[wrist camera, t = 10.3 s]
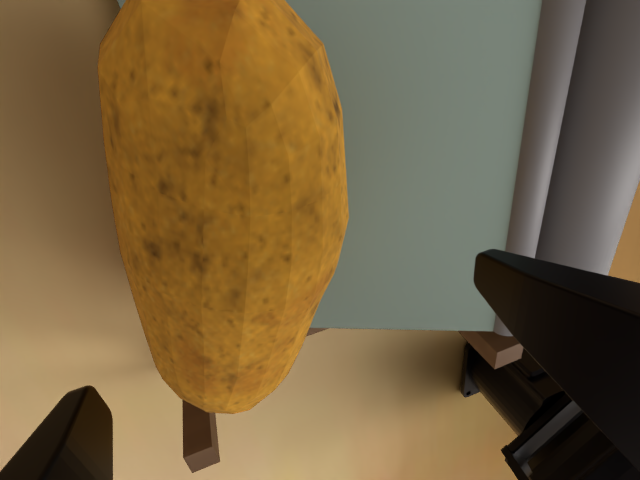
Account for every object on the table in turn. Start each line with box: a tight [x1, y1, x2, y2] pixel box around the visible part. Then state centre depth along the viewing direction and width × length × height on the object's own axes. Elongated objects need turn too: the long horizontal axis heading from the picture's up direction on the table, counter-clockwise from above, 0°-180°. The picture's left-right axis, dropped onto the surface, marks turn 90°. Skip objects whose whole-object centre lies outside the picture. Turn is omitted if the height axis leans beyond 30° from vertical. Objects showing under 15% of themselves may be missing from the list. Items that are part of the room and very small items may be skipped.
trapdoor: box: [117, 0, 640, 336], centre depth 16 cm, size 16×18×4 cm
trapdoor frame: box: [183, 328, 523, 473], centre depth 15 cm, size 20×20×8 cm
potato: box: [98, 0, 349, 414], centre depth 13 cm, size 7×14×7 cm, turn 172°
